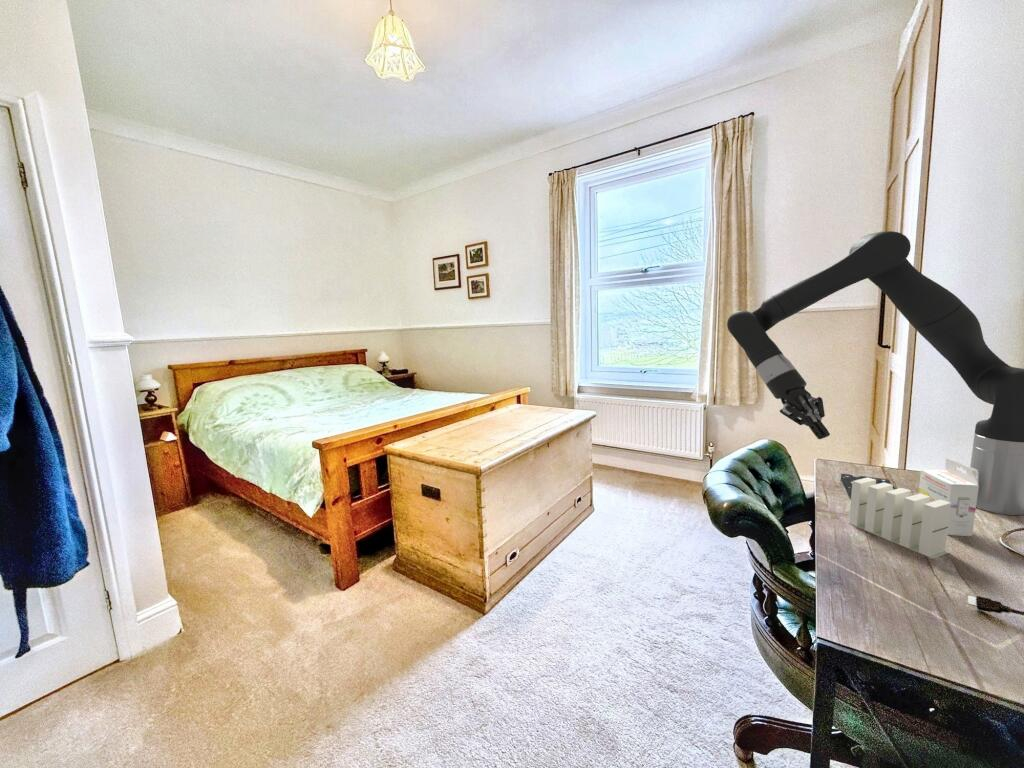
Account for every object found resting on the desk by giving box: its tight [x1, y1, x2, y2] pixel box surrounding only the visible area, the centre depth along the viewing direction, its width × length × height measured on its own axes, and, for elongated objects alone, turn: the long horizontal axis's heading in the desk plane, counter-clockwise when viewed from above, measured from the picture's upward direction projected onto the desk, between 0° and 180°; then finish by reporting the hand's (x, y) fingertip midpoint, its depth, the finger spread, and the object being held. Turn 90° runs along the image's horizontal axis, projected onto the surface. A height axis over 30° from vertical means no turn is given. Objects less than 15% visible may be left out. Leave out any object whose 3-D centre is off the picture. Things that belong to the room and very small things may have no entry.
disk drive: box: [840, 473, 897, 501], centre depth 105 cm, size 10×3×15 cm
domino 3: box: [881, 487, 912, 541], centre depth 84 cm, size 5×2×10 cm, turn 108°
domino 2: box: [864, 482, 894, 534], centre depth 87 cm, size 5×2×10 cm, turn 108°
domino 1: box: [848, 478, 876, 527], centre depth 90 cm, size 5×2×10 cm, turn 108°
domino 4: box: [898, 493, 930, 549], centre depth 81 cm, size 5×2×10 cm, turn 108°
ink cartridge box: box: [917, 457, 979, 537], centre depth 87 cm, size 9×5×15 cm, turn 168°
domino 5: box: [917, 500, 951, 557], centre depth 78 cm, size 5×2×10 cm, turn 108°
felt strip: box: [846, 521, 950, 559], centre depth 84 cm, size 5×15×1 cm, turn 18°
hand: (824, 437), depth 95 cm, fingers closed
